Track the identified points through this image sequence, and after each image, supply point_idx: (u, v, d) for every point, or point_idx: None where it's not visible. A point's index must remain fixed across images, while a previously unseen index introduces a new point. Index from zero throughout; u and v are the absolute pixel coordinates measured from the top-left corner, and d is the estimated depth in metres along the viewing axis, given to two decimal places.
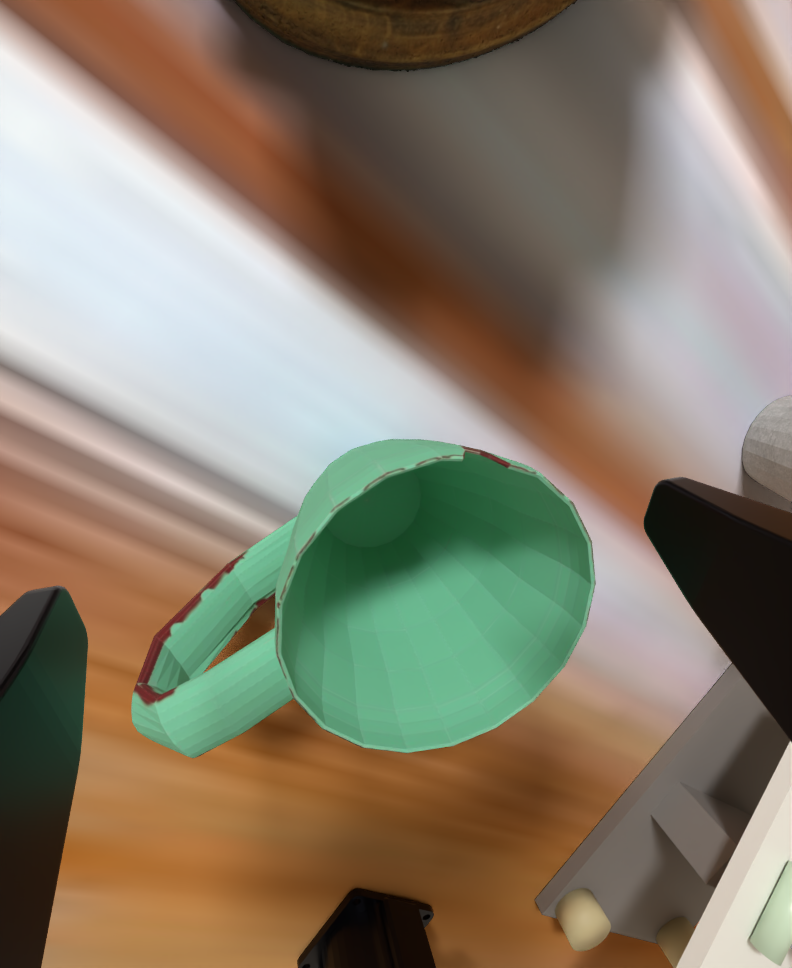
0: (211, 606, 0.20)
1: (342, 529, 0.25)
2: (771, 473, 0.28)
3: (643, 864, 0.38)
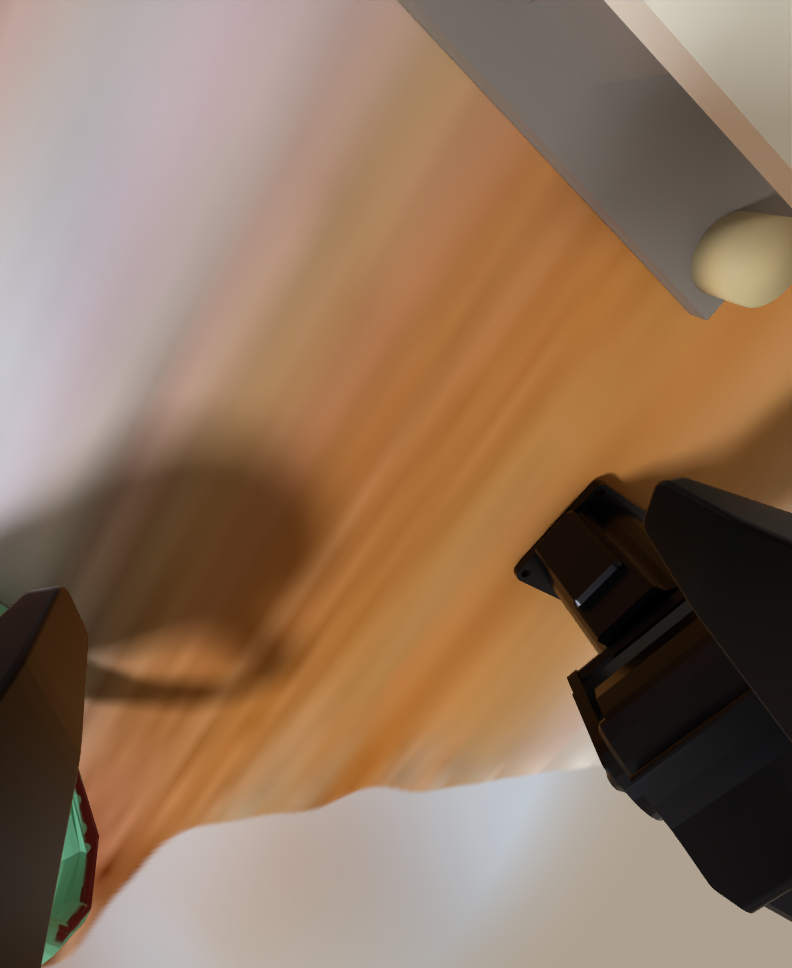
0: None
1: None
2: None
3: None
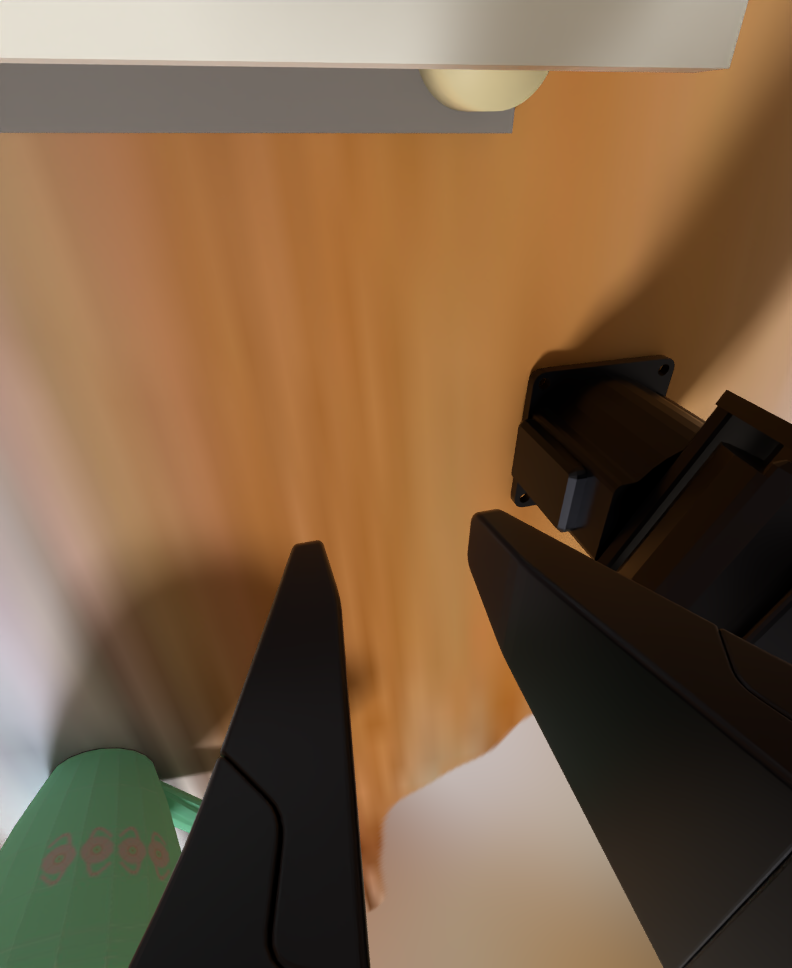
0: None
1: None
2: None
3: None
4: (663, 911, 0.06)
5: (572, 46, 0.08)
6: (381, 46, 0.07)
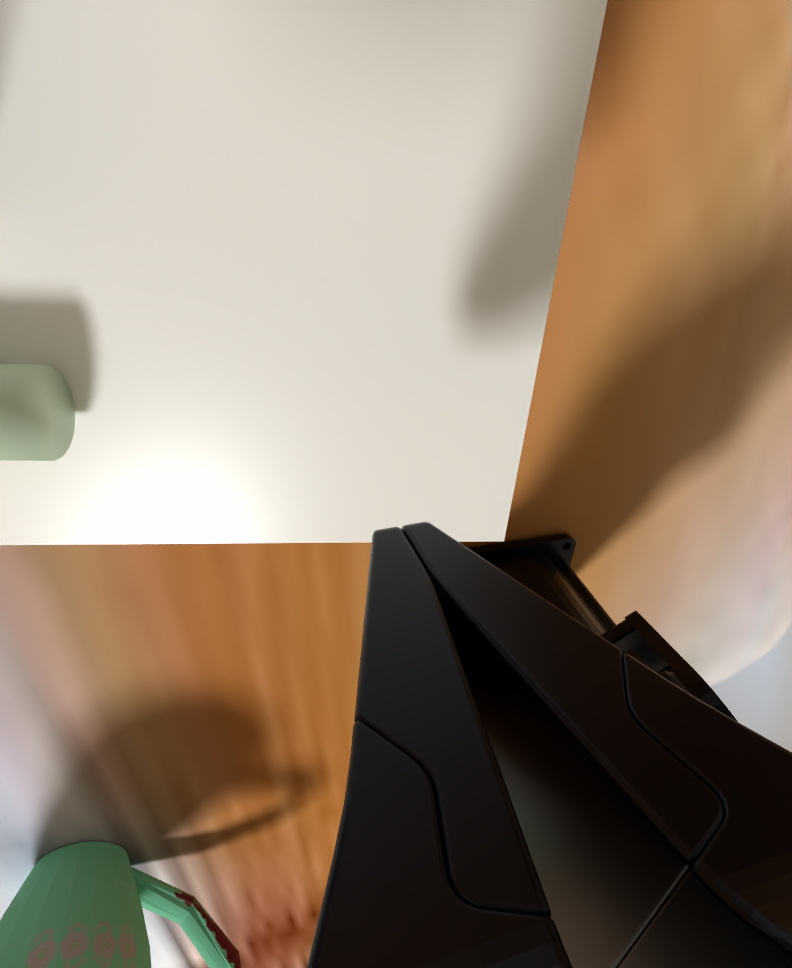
0: (196, 946, 0.32)
1: None
2: None
3: None
4: (567, 948, 0.05)
5: None
6: (278, 536, 0.12)
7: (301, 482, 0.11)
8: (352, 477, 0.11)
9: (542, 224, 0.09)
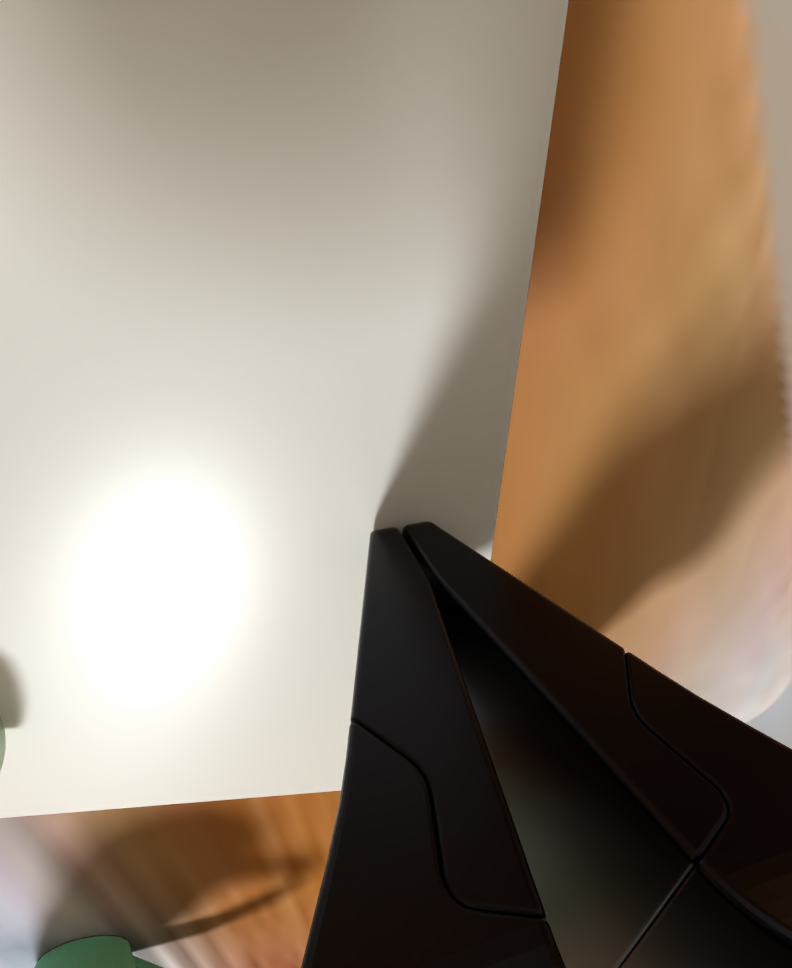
0: None
1: None
2: None
3: None
4: (570, 947, 0.05)
5: None
6: (229, 795, 0.12)
7: (246, 758, 0.11)
8: (297, 750, 0.11)
9: None
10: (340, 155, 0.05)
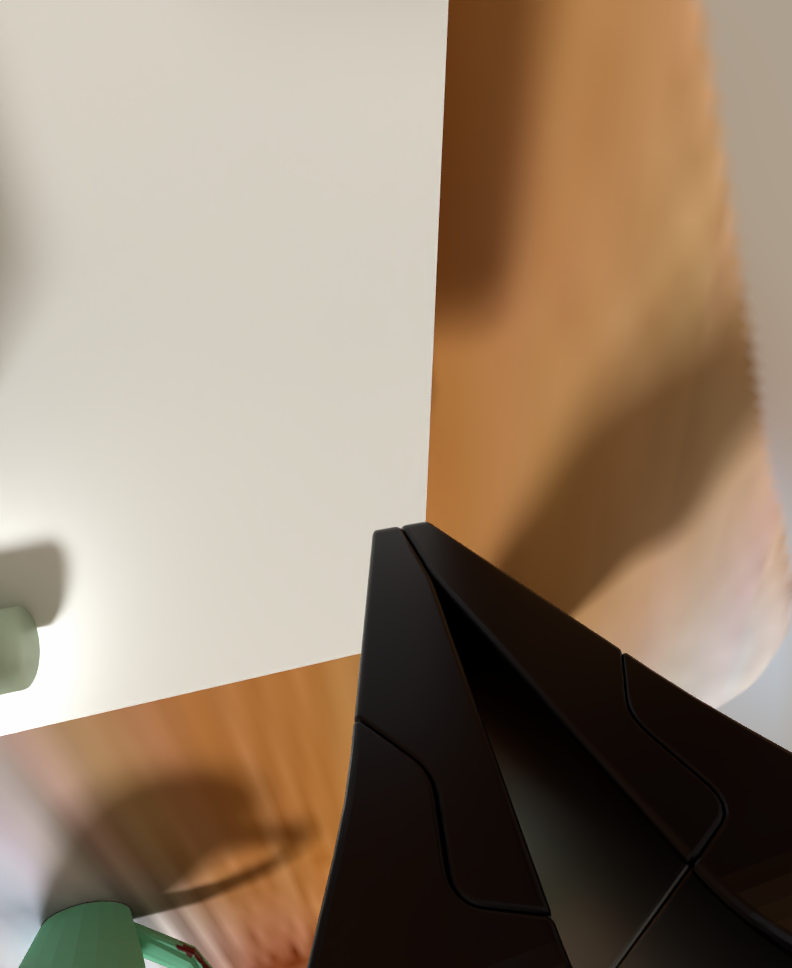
0: None
1: None
2: None
3: None
4: (567, 948, 0.05)
5: (335, 653, 0.14)
6: (232, 678, 0.14)
7: (246, 636, 0.13)
8: (289, 623, 0.13)
9: (412, 434, 0.11)
10: (309, 118, 0.08)
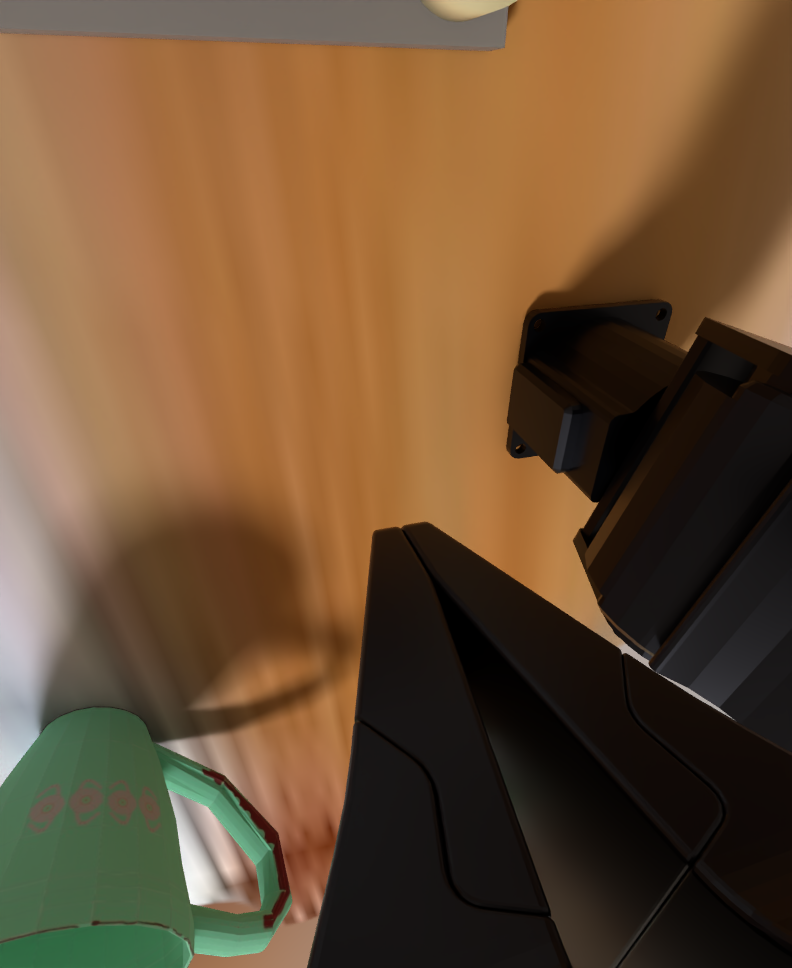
0: (229, 829, 0.28)
1: None
2: None
3: None
4: (567, 948, 0.05)
5: None
6: None
7: None
8: None
9: None
10: None
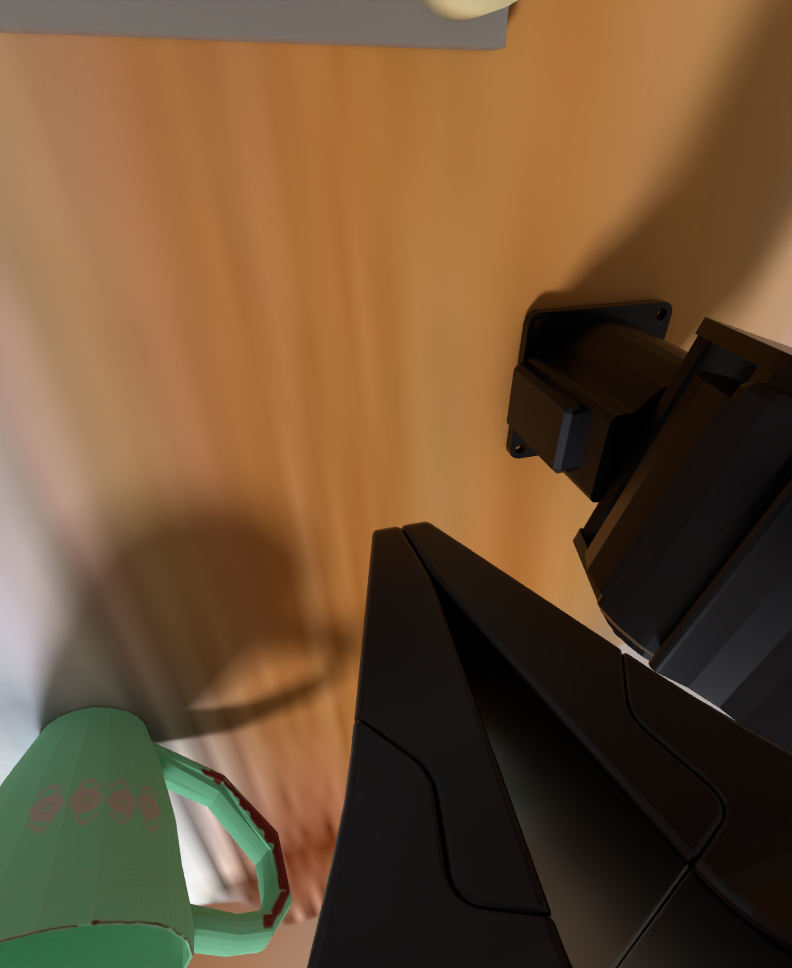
0: (229, 829, 0.28)
1: None
2: None
3: None
4: (567, 949, 0.05)
5: None
6: None
7: None
8: None
9: None
10: None
